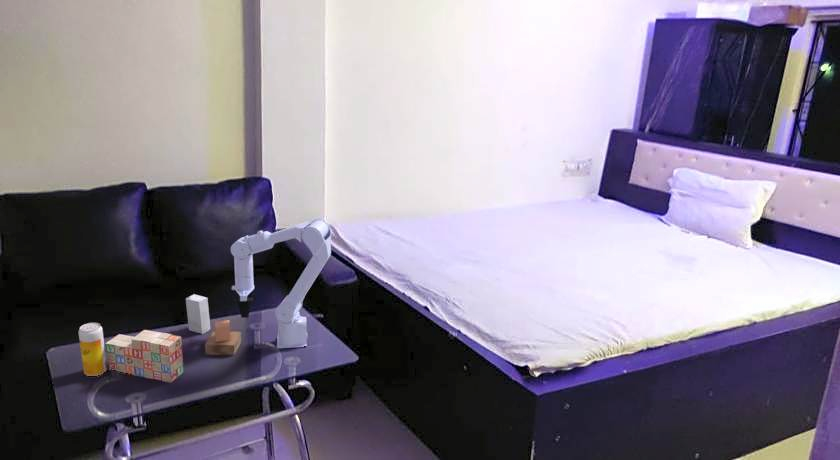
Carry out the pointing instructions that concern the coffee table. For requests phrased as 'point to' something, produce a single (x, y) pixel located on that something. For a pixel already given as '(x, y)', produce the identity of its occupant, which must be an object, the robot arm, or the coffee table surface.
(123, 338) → the stack of blocks
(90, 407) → the coffee table surface
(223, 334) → the terracotta cube
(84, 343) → the beer can
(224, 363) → the coffee table surface
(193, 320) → the skincare box
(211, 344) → the walnut block
